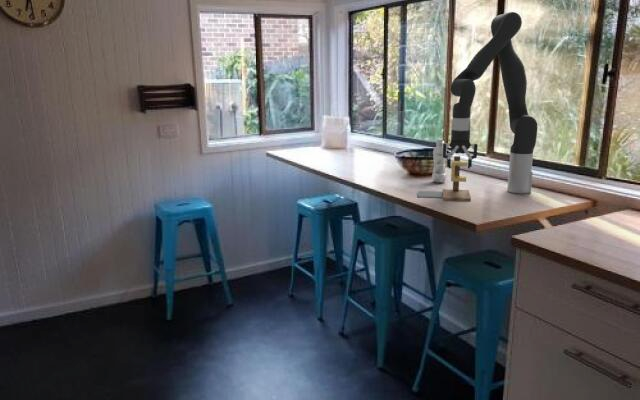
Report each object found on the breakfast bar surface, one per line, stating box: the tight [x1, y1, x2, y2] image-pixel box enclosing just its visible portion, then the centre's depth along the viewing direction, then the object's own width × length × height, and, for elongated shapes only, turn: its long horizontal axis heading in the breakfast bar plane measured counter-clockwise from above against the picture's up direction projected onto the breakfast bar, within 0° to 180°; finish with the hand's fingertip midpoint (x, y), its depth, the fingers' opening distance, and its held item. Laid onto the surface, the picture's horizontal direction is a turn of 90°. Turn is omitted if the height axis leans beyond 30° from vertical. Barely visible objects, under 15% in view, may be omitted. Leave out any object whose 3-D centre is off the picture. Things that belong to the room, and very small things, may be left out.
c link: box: [450, 160, 468, 183], centre depth 213 cm, size 6×4×8 cm, turn 78°
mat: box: [417, 190, 443, 199], centre depth 220 cm, size 10×10×1 cm
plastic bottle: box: [431, 140, 447, 184], centre depth 240 cm, size 6×7×20 cm
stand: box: [442, 155, 472, 202], centre depth 214 cm, size 11×15×16 cm
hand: (459, 168), depth 212 cm, fingers open, 7 cm apart
